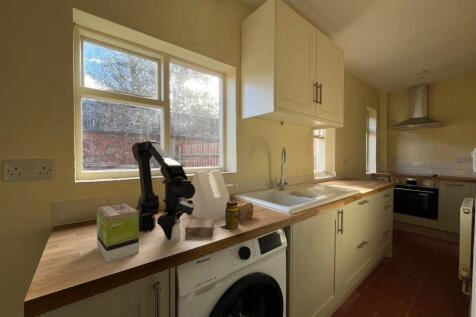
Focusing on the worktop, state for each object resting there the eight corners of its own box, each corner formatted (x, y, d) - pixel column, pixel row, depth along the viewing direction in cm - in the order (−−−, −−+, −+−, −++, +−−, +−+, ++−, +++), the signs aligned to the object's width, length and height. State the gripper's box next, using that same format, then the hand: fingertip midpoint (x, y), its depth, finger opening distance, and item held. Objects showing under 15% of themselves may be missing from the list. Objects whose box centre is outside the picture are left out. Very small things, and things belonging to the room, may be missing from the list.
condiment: (241, 228, 95) (242, 202, 95) (226, 232, 90) (226, 204, 90) (233, 224, 101) (233, 199, 101) (218, 227, 96) (218, 201, 96)
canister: (162, 243, 78) (162, 223, 78) (166, 237, 84) (167, 218, 84) (178, 243, 78) (178, 223, 78) (181, 236, 84) (181, 218, 84)
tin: (239, 224, 101) (240, 207, 101) (234, 223, 102) (234, 206, 102) (253, 216, 113) (254, 201, 113) (248, 215, 115) (249, 200, 115)
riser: (185, 237, 84) (185, 227, 84) (190, 227, 95) (190, 219, 95) (212, 236, 85) (212, 227, 84) (213, 227, 96) (213, 219, 95)
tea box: (96, 247, 74) (95, 206, 74) (126, 239, 81) (126, 202, 81) (106, 263, 63) (106, 215, 63) (140, 252, 70) (140, 210, 70)
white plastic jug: (188, 213, 119) (188, 170, 119) (210, 209, 129) (210, 169, 129) (205, 221, 104) (205, 172, 104) (229, 216, 114) (229, 171, 114)
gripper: (189, 200, 72) (188, 244, 72) (196, 191, 91) (196, 226, 91) (156, 200, 71) (156, 245, 72) (171, 191, 90) (170, 226, 90)
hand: (172, 234), depth 81 cm, fingers open, 9 cm apart
